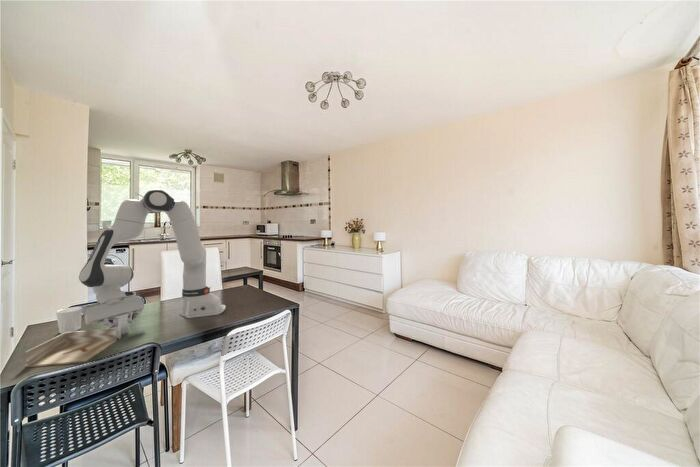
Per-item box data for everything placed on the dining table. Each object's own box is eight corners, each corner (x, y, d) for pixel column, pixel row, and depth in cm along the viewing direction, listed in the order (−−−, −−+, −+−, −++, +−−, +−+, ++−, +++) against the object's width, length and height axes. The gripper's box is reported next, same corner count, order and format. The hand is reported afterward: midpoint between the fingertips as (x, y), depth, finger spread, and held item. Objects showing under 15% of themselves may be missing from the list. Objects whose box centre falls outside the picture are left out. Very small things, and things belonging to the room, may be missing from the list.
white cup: (53, 335, 112) (52, 314, 111) (63, 328, 119) (62, 308, 118) (77, 332, 115) (76, 311, 115) (85, 325, 122) (84, 305, 122)
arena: (116, 341, 108) (115, 328, 107) (85, 362, 92) (84, 347, 92) (66, 344, 104) (65, 331, 104) (25, 367, 88) (24, 352, 88)
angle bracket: (113, 336, 112) (112, 317, 111) (127, 332, 116) (126, 313, 115) (118, 339, 109) (117, 319, 109) (132, 334, 114) (131, 315, 113)
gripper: (81, 302, 107) (91, 330, 103) (139, 290, 125) (149, 313, 121) (78, 311, 109) (87, 337, 105) (135, 298, 127) (145, 320, 123)
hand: (121, 324), depth 113 cm, fingers closed on angle bracket, 5 cm apart
